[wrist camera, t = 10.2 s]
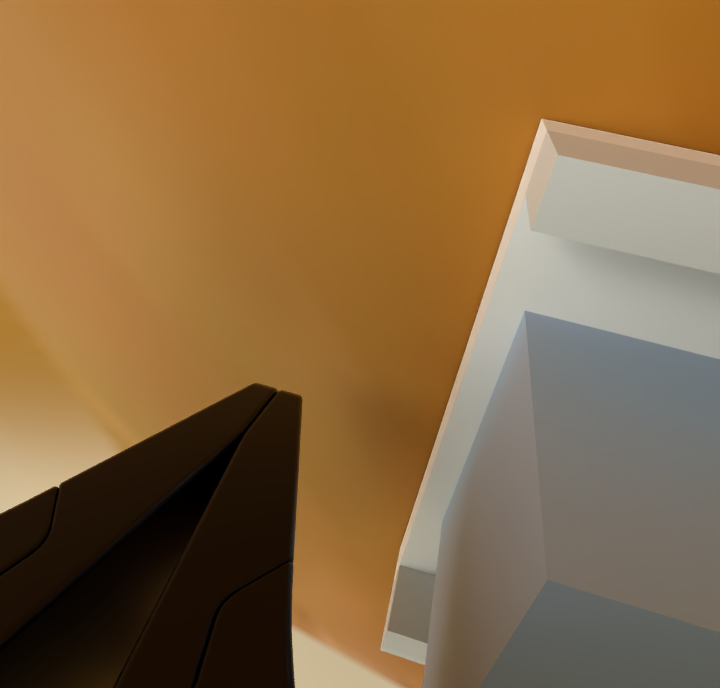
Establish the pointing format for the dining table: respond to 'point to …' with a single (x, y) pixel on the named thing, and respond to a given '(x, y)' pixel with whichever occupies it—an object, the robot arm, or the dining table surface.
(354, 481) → the dining table surface
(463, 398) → the board
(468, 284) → the dining table surface
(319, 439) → the dining table surface
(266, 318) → the dining table surface
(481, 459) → the block
